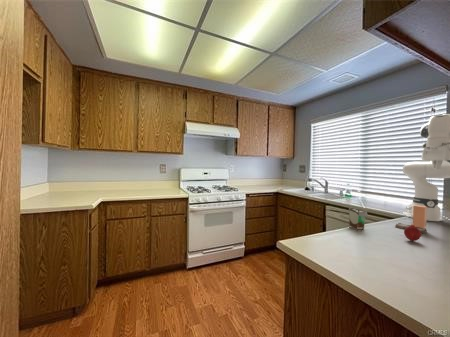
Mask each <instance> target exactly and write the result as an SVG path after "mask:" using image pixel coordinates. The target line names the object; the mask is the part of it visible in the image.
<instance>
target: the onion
mask: <svg viewBox="0 0 450 337" xmlns="http://www.w3.org/2000/svg"><path fill="white" fill-rule="evenodd" d="M410 225H411V226H408V227H407V228H405V229H403V234H404V235H405V237H406V238H407V239H408V240H409V241H411V242H415V241H418V240H420V239H421V237H422V233H421V232H420V230H419V229H418V228H417V227H415V226H414V224H413V223H411V224H410Z"/></svg>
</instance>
